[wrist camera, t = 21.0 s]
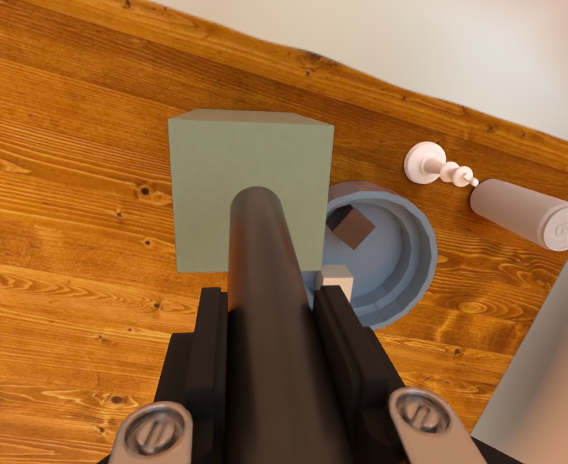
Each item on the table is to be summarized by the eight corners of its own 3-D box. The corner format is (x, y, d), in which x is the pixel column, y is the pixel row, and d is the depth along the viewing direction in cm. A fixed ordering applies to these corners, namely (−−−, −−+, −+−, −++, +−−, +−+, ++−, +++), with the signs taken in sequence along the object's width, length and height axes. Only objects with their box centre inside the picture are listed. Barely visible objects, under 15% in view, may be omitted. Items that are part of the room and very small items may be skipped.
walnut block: (344, 199, 43) (353, 207, 39) (365, 217, 44) (376, 226, 41) (324, 221, 43) (331, 232, 40) (345, 238, 45) (354, 250, 41)
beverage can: (503, 210, 47) (587, 246, 35) (467, 218, 46) (540, 257, 35) (504, 173, 45) (593, 199, 34) (467, 182, 45) (544, 211, 33)
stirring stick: (235, 181, 17) (233, 512, 5) (287, 191, 18) (400, 512, 6) (226, 229, 19) (206, 598, 6) (275, 236, 19) (349, 590, 7)
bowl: (282, 178, 42) (288, 190, 36) (426, 181, 44) (451, 192, 39) (276, 310, 48) (280, 336, 43) (403, 307, 50) (422, 331, 45)
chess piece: (422, 132, 42) (476, 143, 32) (451, 157, 43) (511, 174, 34) (395, 168, 43) (439, 188, 34) (424, 190, 44) (474, 216, 35)
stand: (197, 108, 38) (167, 118, 21) (292, 112, 39) (334, 125, 22) (200, 201, 41) (177, 273, 25) (287, 202, 43) (321, 271, 26)
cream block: (317, 264, 45) (323, 277, 42) (345, 264, 46) (353, 277, 42) (314, 289, 47) (320, 304, 43) (341, 289, 47) (349, 304, 44)
